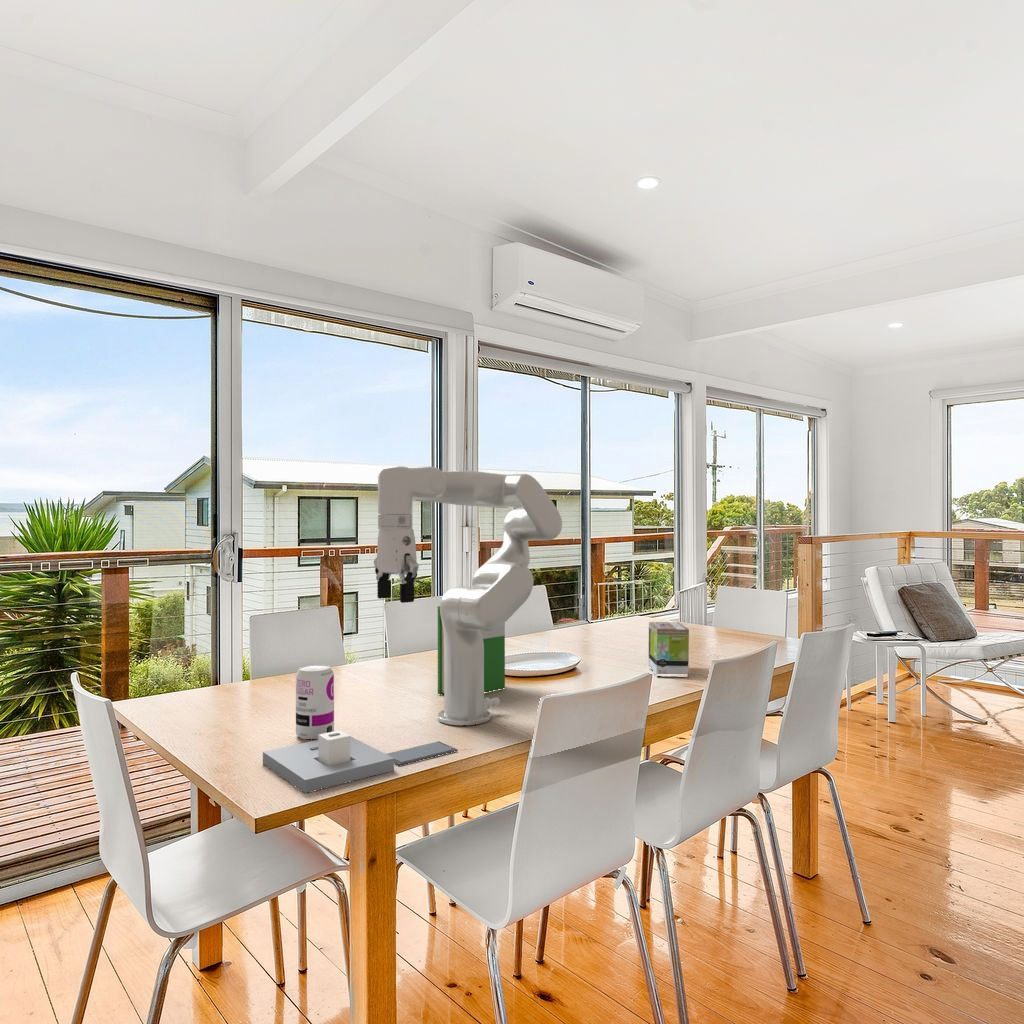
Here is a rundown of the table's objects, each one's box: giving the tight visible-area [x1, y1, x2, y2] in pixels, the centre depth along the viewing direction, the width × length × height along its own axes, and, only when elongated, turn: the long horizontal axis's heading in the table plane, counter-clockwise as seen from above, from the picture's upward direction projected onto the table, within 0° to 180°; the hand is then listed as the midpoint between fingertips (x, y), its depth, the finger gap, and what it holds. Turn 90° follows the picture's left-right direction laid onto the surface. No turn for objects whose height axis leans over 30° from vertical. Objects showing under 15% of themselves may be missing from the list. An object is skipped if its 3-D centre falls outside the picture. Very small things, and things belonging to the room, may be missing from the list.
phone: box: [386, 740, 459, 767], centre depth 152 cm, size 14×7×1 cm, turn 129°
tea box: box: [647, 621, 690, 676], centre depth 228 cm, size 15×10×15 cm
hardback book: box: [437, 605, 506, 695], centre depth 203 cm, size 18×7×24 cm, turn 131°
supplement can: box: [295, 664, 335, 741], centre depth 165 cm, size 8×8×15 cm
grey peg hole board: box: [262, 735, 395, 794], centre depth 144 cm, size 18×20×3 cm
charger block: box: [317, 730, 351, 766], centre depth 142 cm, size 4×4×7 cm
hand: (395, 600), depth 163 cm, fingers open, 9 cm apart
